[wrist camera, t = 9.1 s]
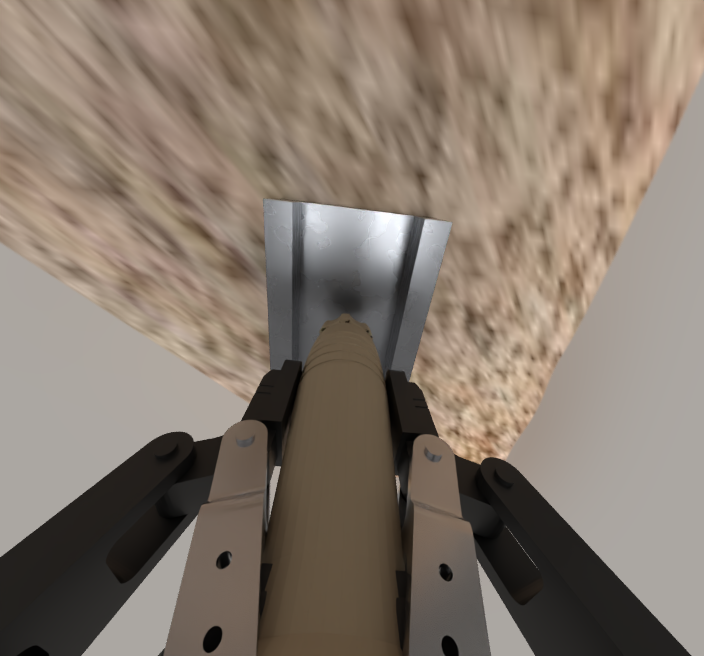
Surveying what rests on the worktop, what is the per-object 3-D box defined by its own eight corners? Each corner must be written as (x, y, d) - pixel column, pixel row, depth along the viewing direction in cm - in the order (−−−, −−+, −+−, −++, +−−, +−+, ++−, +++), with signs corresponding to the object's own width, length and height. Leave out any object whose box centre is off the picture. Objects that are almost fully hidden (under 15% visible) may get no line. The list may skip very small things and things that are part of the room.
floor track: (280, 199, 16) (263, 198, 13) (433, 218, 16) (452, 222, 13) (283, 374, 22) (272, 402, 19) (393, 384, 23) (400, 413, 20)
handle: (358, 273, 14) (458, 1551, 1) (399, 358, 17) (585, 986, 3) (286, 308, 15) (-233, 1134, 2) (335, 383, 18) (281, 949, 4)
